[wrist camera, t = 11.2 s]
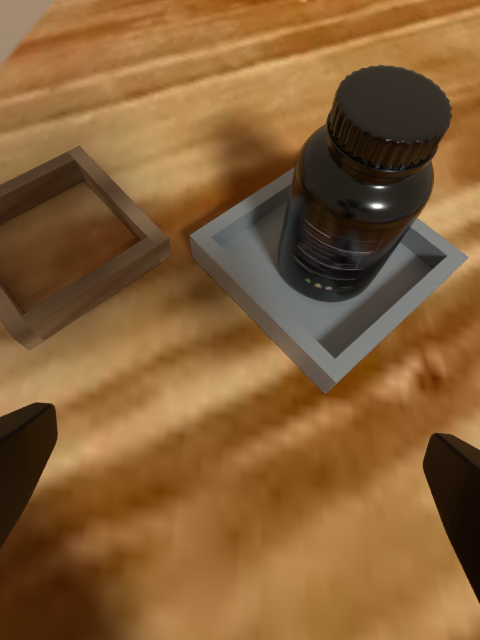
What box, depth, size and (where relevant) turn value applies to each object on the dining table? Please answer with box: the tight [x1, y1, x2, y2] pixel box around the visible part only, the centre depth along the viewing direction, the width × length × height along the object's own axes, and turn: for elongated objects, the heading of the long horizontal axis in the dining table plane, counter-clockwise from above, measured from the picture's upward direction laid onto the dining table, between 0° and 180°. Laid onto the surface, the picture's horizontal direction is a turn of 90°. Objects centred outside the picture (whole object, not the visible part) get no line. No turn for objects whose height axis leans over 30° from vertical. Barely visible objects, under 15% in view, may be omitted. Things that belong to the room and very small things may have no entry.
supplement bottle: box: [278, 65, 452, 302], centre depth 21 cm, size 7×7×12 cm
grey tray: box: [189, 167, 469, 394], centre depth 26 cm, size 13×13×2 cm
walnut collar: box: [0, 146, 172, 350], centre depth 26 cm, size 11×11×2 cm
